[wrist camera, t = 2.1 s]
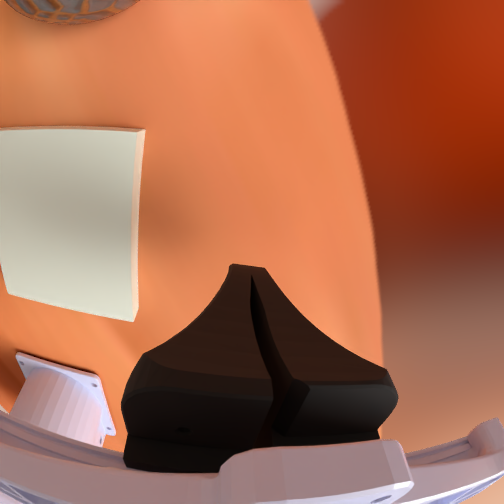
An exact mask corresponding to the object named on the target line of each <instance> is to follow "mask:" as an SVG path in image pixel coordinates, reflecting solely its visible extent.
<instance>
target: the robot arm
mask: <svg viewBox="0 0 504 504" xmlns="http://www.w3.org/2000/svg"><path fill="white" fill-rule="evenodd" d="M16 359H17V361H18V363H19V366H20V368H21V370H22V372H23V374H24V376H25V378H26V381H25V383H24V385H23V387H22V389H21V391H20V393H19V395H18V397H17V399H16V401H15V403H14V405H13V407H12V410H11V412H10V414H7V413H5V412H3V411H1V410H0V504H458V503H460V502H462V501H464V500H466V499H468V498H470V497H472V496H474V495H476V494H478V493H479V492H481V491H482V490H484V489H485V488H487V487H488V486H490V485H491V484H493V483H494V482H495V481H497V480H498V479H499V478H501V477H502V476H503V475H504V428H503V426H502V424H501V423H500V421H499V419H498V418H493V419H491V420H488V421H485V422H483V423H481V424H479V425H477V426H476V427H475V428H474V429H473V430H472V431H471V432H470V433H469V434H468V435H467V436H466V437H463V438H460V439H457V440H454V441H451V442H448V443H444V444H441V445H437V446H434V447H430V448H426V449H423V450H418V451H414V452H410V453H405V454H404V452H403V449H402V446H401V445H400V444H399V442H398V441H396V440H392V439H390V440H389V439H385V440H384V439H380V437H379V434H378V431H377V429H378V428H379V427H380V426H381V425H382V423H383V422H384V421H385V420H386V419H387V418H388V416H389V415H390V414H391V413H392V411H393V409H394V408H395V407H396V405H397V402H398V394H397V391H396V388H395V386H394V384H393V382H392V380H391V377H390V375H389V373H388V371H387V370H386V369H385V368H382V367H380V366H378V365H376V364H374V363H372V362H369V361H367V360H365V359H363V358H361V357H359V356H358V355H356V354H354V353H352V352H351V351H349V350H347V349H345V348H344V347H342V346H341V345H339V344H338V343H336V342H335V341H333V340H332V339H331V338H329V337H328V336H327V335H325V334H324V333H323V332H321V331H320V330H319V329H318V328H316V327H315V326H314V325H313V324H312V323H311V322H310V321H309V320H307V319H306V318H305V317H304V316H303V315H302V314H301V313H300V312H299V311H298V309H297V308H296V307H295V306H294V305H293V304H292V303H291V302H290V301H289V299H288V298H287V297H286V296H285V295H284V293H283V292H282V291H281V290H280V288H279V287H278V286H277V284H276V283H275V281H274V280H273V279H272V277H271V276H270V274H269V273H268V272H267V270H266V269H265V268H262V267H254V266H247V265H239V264H232V265H230V266H229V271H228V274H227V277H226V279H225V281H224V283H223V284H222V286H221V288H220V290H219V291H218V293H217V294H216V295H215V297H214V298H213V300H212V301H211V302H210V304H209V305H208V306H207V307H206V308H205V309H204V311H203V312H202V313H201V314H200V315H199V316H198V317H197V318H196V319H195V320H194V321H193V322H191V323H190V324H189V325H188V326H187V327H186V328H185V329H183V330H182V331H181V332H179V333H178V334H176V335H175V336H173V337H172V338H171V339H169V340H168V341H166V342H165V343H163V344H161V345H159V346H157V347H156V348H154V349H152V350H150V351H148V352H146V353H144V354H143V355H142V356H141V358H140V359H139V361H138V363H137V364H136V366H135V368H134V369H133V371H132V373H131V375H130V377H129V379H128V382H127V384H126V387H125V390H124V394H123V398H122V401H121V411H122V415H123V418H124V422H125V425H126V429H127V432H128V436H127V440H126V445H125V450H124V453H122V452H118V451H114V450H110V449H106V448H102V446H103V442H104V438H105V435H106V434H108V435H112V436H114V435H115V434H116V430H115V427H114V424H113V421H112V418H111V415H110V412H109V408H108V405H107V402H106V398H105V395H104V391H103V388H102V384H101V381H100V378H99V377H98V376H97V375H95V374H92V373H88V372H84V371H81V370H77V369H73V368H69V367H66V366H62V365H59V364H55V363H52V362H49V361H45V360H42V359H39V358H36V357H33V356H30V355H27V354H24V353H21V352H17V354H16Z"/></svg>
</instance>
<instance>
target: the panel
mask: <svg viewBox="0 0 504 504" xmlns="http://www.w3.org/2000/svg"><path fill="white" fill-rule="evenodd" d="M144 138H145V129H136V128H121V127H100V126H24V127H5V128H0V264H1V268H2V273H3V277H4V281H5V285H6V288H7V292H8V294H11V295H15V296H19V297H22V298H26V299H30V300H34V301H38V302H42V303H46V304H50V305H54V306H58V307H62V308H67V309H71V310H75V311H80V312H85V313H89V314H94V315H99V316H104V317H109V318H114V319H119V320H125V321H130V322H134V319H135V316H136V314H137V311H138V308H139V306H138V221H139V199H140V183H141V170H142V158H143V148H144Z"/></svg>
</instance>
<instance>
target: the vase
mask: <svg viewBox="0 0 504 504" xmlns="http://www.w3.org/2000/svg"><path fill="white" fill-rule="evenodd" d="M4 1H5V2H6V3H7V4H8V5H9V6H11V7H12V8H13V9H15V10H16V11H17V12H19V13H21V14H23V15H24V16H26V17H29V18H32V19H35V20H38V21H42V22H47V23H53V24H62V25H68V24H81V23H87V22H92V21H97V20H101V19H104V18H107V17H109V16H112V15H114V14H117V13H119V12H121V11H123V10H125V9H127V8H128V7H130V6H132V5H133V4H135V3H136V2H138V1H139V0H4Z"/></svg>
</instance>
